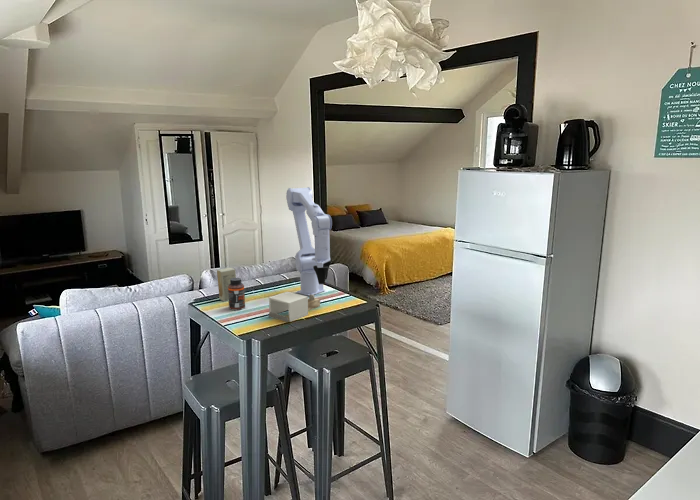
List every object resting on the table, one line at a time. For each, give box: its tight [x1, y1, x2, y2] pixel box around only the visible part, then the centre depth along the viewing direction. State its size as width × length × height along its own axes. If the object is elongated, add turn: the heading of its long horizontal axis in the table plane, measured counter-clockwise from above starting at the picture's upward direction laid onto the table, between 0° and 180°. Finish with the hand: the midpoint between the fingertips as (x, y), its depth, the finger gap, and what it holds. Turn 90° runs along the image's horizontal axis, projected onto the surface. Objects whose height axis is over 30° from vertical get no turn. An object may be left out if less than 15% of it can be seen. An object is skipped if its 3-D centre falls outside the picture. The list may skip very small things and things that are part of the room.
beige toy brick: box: [308, 294, 321, 312], centre depth 180 cm, size 9×4×5 cm, turn 141°
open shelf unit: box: [268, 291, 309, 323], centre depth 172 cm, size 10×10×7 cm
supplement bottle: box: [228, 277, 246, 311], centre depth 180 cm, size 6×6×11 cm
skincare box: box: [216, 267, 237, 302], centre depth 191 cm, size 6×4×12 cm
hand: (322, 281), depth 185 cm, fingers open, 6 cm apart
